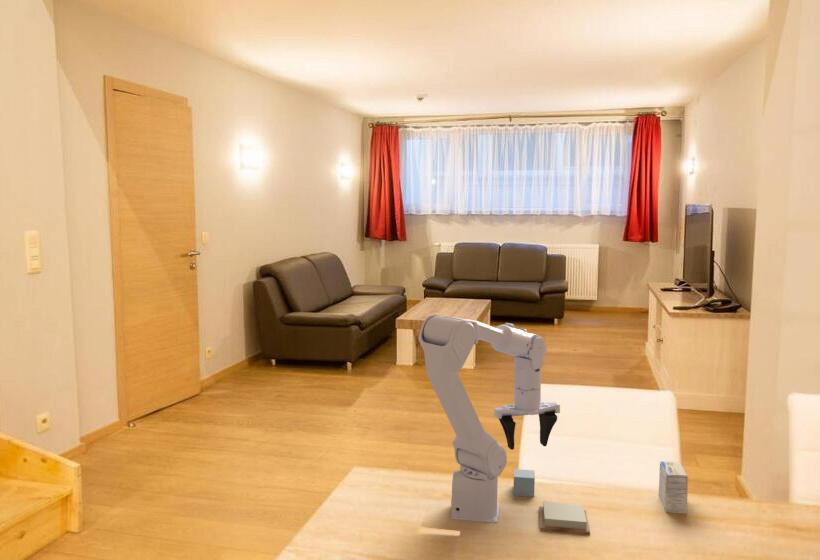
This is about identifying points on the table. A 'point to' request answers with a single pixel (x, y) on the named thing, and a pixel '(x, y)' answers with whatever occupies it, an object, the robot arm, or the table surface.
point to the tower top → (564, 515)
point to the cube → (524, 482)
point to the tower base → (561, 529)
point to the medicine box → (673, 487)
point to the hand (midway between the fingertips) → (527, 446)
